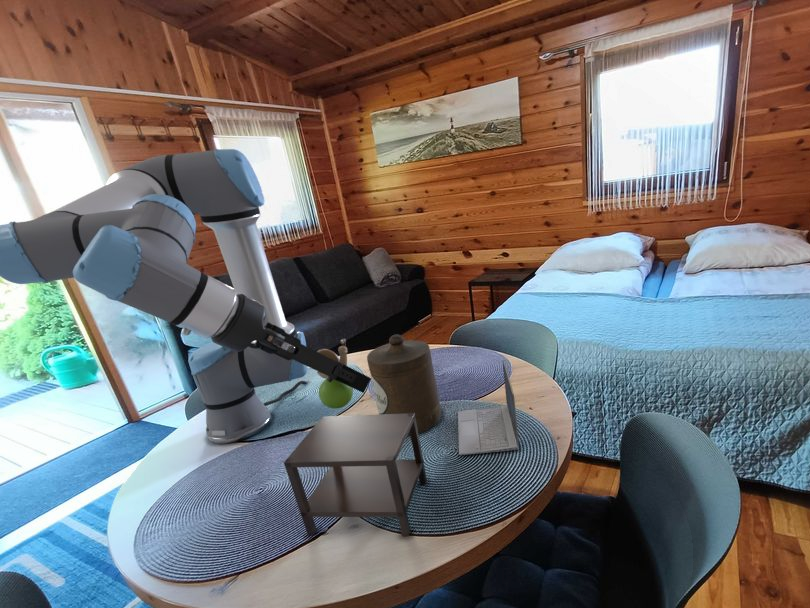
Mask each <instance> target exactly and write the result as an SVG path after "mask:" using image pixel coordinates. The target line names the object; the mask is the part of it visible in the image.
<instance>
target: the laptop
mask: <svg viewBox="0 0 810 608" xmlns="http://www.w3.org/2000/svg"><path fill="white" fill-rule="evenodd" d="M502 368H503V379H504V389H505V399H506V401H505V402H506V405H497V406H488V407H480V408H473V409H465V410H458V411H457V426H458V428H457V433H458V434H457V435H458V455H459V456H467V455H476V454H486V453H499V452H508V451H514V450H515V451H516V450H519V447H520V445H519V433H518V422H517V411H516V400H515V393H514V389H513V387H512V383H511V379H510V376H509V373H508V370H507V366H506V363H505V360H504V359H502Z"/></svg>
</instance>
